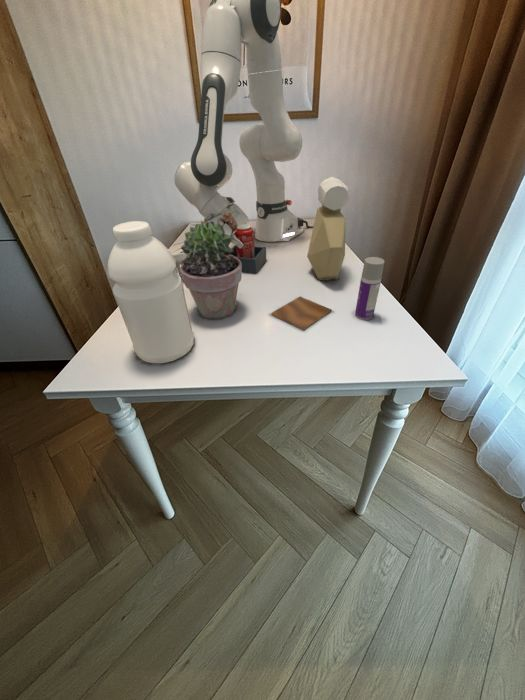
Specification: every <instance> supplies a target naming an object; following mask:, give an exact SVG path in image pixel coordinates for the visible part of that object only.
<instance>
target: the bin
mask: <svg viewBox="0 0 525 700" xmlns="http://www.w3.org/2000/svg"><path fill="white" fill-rule="evenodd" d="M233 246H234V247H233ZM233 246H232V250H235V251H233V252H235V253H231V254H229V255H233V256H235V257H237V252H236V245H235V244H234V245H233ZM254 248H255V258H254V259H253V258H242V257H237V258H238V259H239V260H240V261H241V263H242V273H244V274H245V273H246V274H252V275H257V274H258V272H259V271H260V269H261V268H262V267H263V266H264V264H265V263H266V262H267V246H259V245H258V246H256V245H254ZM244 270H245V271H244Z"/></svg>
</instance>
